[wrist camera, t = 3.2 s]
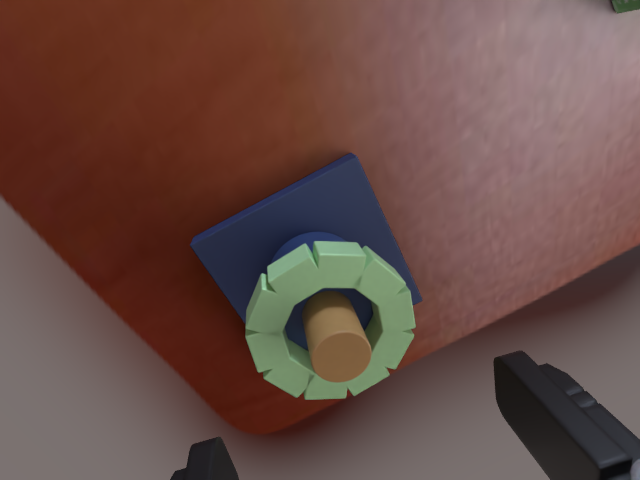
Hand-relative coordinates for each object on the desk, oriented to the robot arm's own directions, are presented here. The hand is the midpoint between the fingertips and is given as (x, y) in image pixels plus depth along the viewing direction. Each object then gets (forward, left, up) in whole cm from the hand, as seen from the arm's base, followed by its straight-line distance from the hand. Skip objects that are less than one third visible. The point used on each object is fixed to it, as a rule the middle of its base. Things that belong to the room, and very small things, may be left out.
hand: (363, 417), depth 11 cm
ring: (0, 0, -6) cm, 6 cm away
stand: (0, 0, -11) cm, 11 cm away
